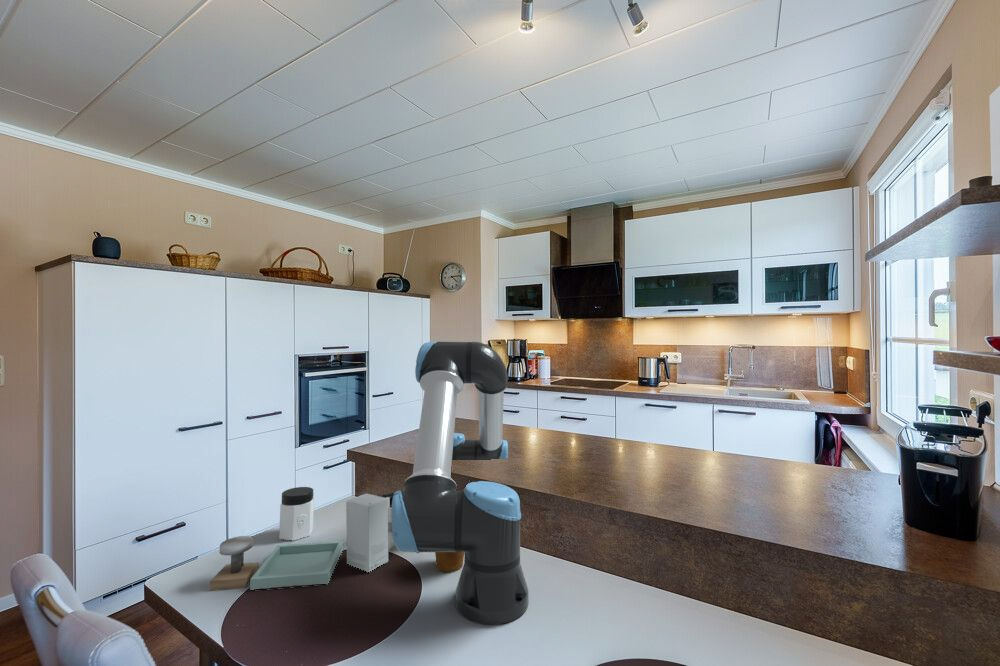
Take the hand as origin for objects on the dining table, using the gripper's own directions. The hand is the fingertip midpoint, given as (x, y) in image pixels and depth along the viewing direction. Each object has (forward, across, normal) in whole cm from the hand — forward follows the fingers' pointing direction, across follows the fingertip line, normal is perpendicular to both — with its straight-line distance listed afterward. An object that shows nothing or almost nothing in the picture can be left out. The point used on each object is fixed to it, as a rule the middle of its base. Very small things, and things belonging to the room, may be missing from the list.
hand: (392, 514), depth 109 cm
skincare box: (+10, 0, -9) cm, 13 cm away
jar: (+5, +29, -9) cm, 31 cm away
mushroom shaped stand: (+28, +22, -8) cm, 36 cm away
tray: (+18, +12, -8) cm, 23 cm away
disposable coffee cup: (+2, -19, -9) cm, 21 cm away
